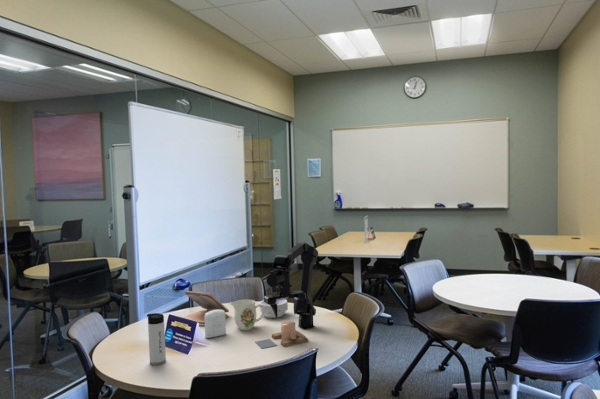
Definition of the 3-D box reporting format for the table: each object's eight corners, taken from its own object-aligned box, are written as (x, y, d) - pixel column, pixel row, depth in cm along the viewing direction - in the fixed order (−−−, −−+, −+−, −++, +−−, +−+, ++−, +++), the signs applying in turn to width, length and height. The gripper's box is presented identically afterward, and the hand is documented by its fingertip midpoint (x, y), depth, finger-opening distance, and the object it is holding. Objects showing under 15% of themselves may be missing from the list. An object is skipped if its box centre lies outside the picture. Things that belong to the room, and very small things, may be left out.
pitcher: (268, 327, 215) (267, 300, 215) (233, 334, 208) (232, 305, 207) (261, 321, 225) (259, 295, 225) (227, 327, 218) (226, 300, 217)
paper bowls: (254, 317, 233) (253, 303, 233) (270, 310, 246) (270, 296, 246) (277, 321, 225) (277, 306, 225) (293, 313, 238) (292, 299, 238)
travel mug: (151, 359, 180) (149, 312, 179) (167, 358, 180) (165, 311, 180) (147, 365, 174) (144, 316, 173) (164, 364, 174) (161, 315, 174)
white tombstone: (223, 332, 211) (222, 307, 211) (227, 334, 208) (226, 309, 207) (203, 336, 206) (202, 311, 205) (207, 339, 202) (206, 313, 202)
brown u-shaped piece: (295, 332, 207) (295, 329, 207) (308, 341, 194) (308, 338, 194) (271, 337, 202) (271, 334, 202) (283, 346, 189) (283, 343, 189)
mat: (269, 339, 199) (269, 338, 199) (276, 345, 191) (276, 345, 191) (255, 342, 196) (255, 341, 196) (261, 348, 188) (261, 348, 188)
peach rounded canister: (279, 338, 199) (278, 322, 199) (292, 336, 202) (291, 320, 202) (287, 345, 190) (287, 328, 190) (301, 342, 193) (300, 326, 193)
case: (231, 316, 237) (229, 287, 237) (203, 327, 220) (202, 296, 219) (204, 312, 248) (203, 284, 248) (175, 322, 231) (174, 292, 230)
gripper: (295, 276, 208) (296, 308, 209) (259, 281, 200) (260, 314, 201) (305, 280, 198) (306, 314, 199) (267, 286, 190) (269, 321, 191)
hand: (285, 315), depth 198 cm, fingers open, 9 cm apart
